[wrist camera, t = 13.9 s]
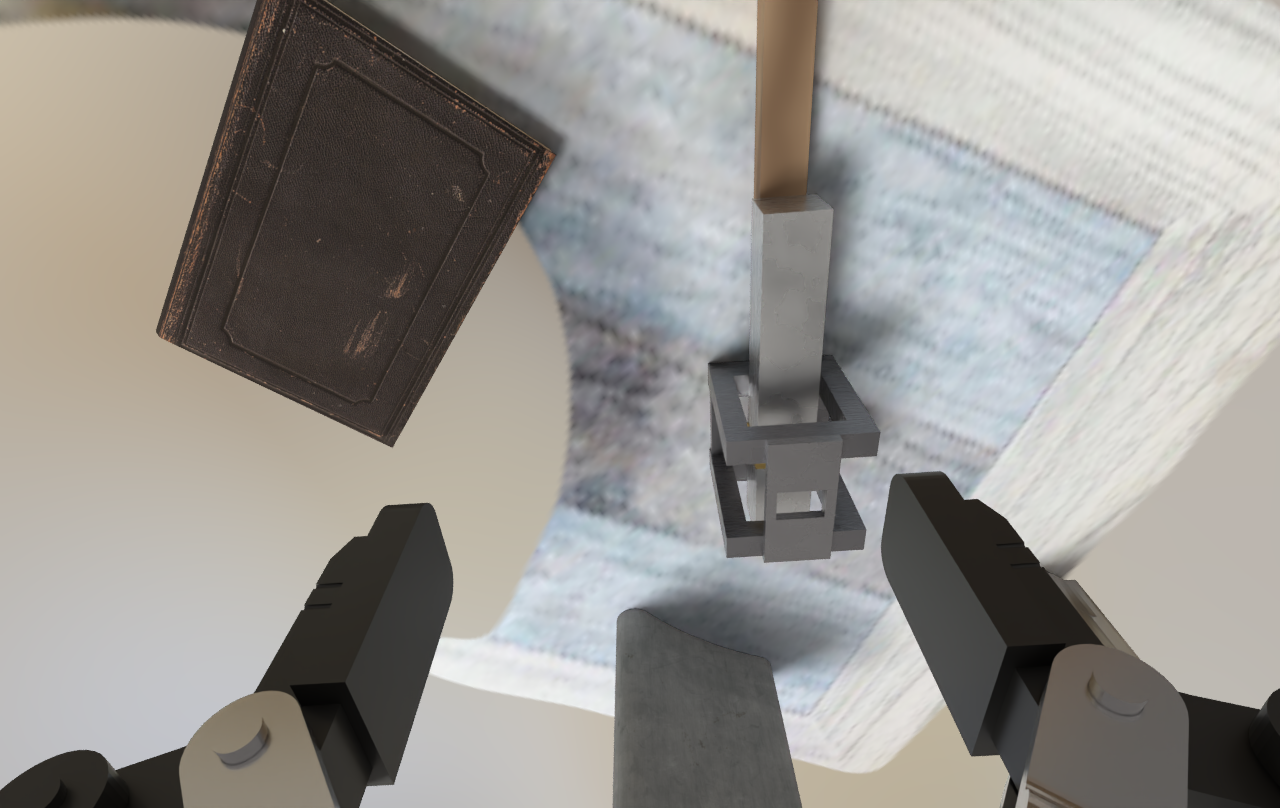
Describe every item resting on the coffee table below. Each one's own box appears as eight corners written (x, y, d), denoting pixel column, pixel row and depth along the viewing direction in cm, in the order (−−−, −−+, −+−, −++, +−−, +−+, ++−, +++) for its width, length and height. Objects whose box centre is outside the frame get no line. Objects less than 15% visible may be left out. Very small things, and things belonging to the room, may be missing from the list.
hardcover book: (559, 149, 37) (555, 155, 35) (402, 430, 46) (392, 448, 44) (284, -36, 32) (261, -40, 30) (172, 319, 42) (149, 333, 40)
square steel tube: (750, 198, 36) (762, 215, 33) (818, 193, 36) (836, 209, 33) (745, 504, 47) (754, 539, 44) (797, 501, 47) (809, 536, 44)
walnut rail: (813, -102, 31) (824, -110, 29) (790, 342, 43) (796, 355, 41) (759, -97, 31) (767, -105, 29) (751, 344, 43) (756, 357, 41)
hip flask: (777, 663, 59) (838, 923, 42) (752, 687, 61) (800, 947, 44) (628, 603, 55) (627, 866, 38) (605, 632, 57) (594, 894, 39)
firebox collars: (832, 355, 43) (883, 438, 34) (822, 459, 47) (866, 556, 39) (707, 363, 43) (727, 448, 35) (709, 466, 48) (727, 564, 39)
